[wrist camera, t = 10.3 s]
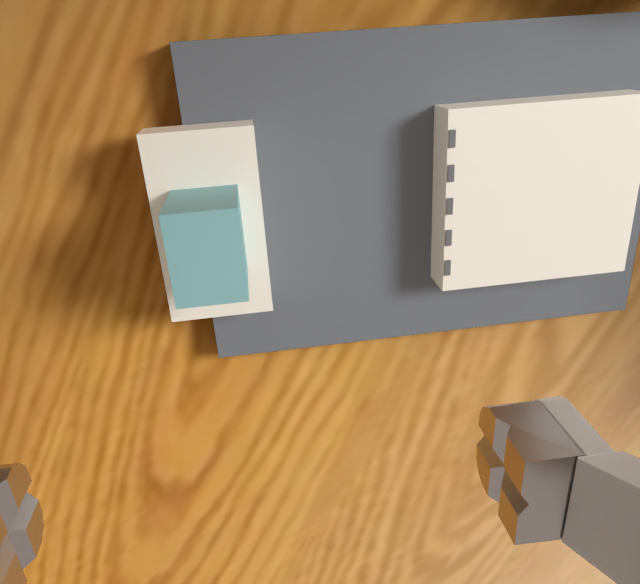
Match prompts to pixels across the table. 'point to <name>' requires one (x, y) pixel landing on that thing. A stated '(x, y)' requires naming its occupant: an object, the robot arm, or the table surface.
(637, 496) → the robot arm
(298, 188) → the desk mat
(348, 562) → the table surface
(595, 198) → the pad
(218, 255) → the cube on white base
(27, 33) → the table surface
